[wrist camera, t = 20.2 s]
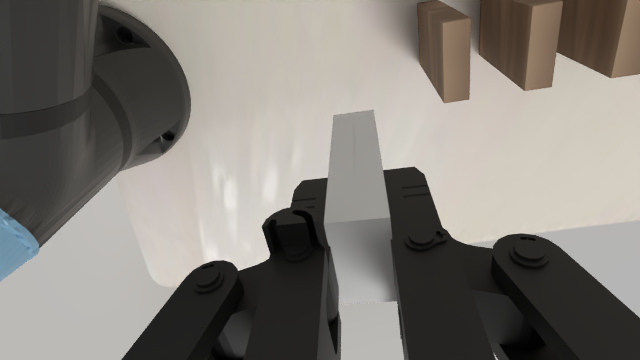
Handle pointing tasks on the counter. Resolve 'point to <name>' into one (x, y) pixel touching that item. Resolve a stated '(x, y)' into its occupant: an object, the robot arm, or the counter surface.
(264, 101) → the counter surface
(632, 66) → the domino
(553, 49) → the domino
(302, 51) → the counter surface
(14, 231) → the robot arm
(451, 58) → the domino
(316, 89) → the counter surface
